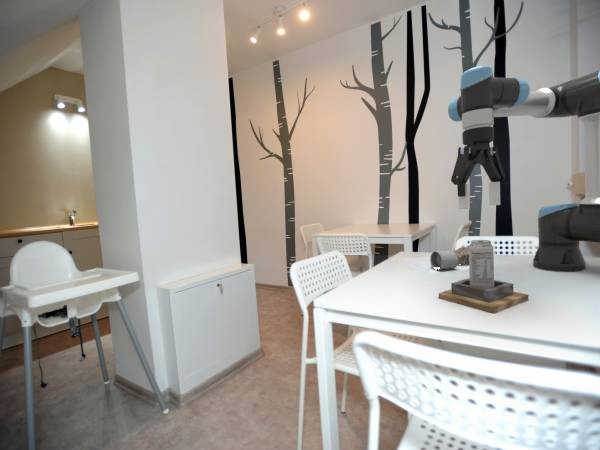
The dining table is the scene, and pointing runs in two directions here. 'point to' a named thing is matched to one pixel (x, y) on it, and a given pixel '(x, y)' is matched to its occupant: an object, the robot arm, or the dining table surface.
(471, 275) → the energy drink can
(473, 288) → the board
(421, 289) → the dining table surface
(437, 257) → the ceramic mug
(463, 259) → the seashell
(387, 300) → the dining table surface
